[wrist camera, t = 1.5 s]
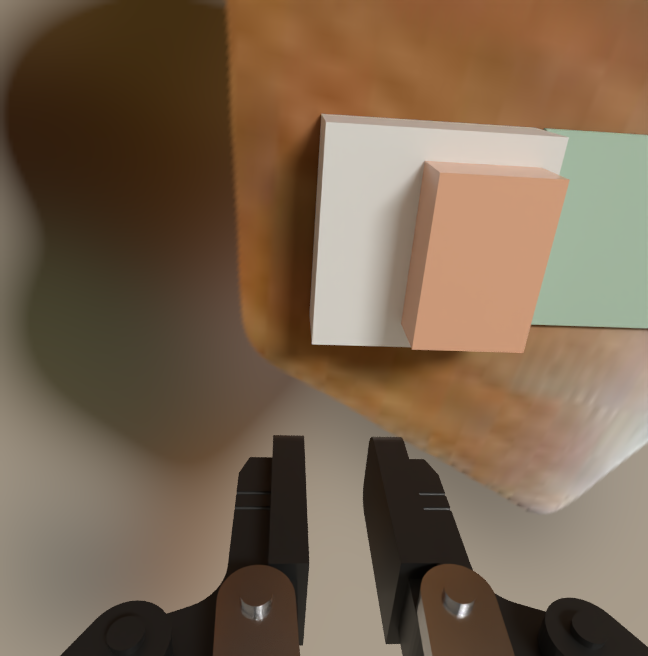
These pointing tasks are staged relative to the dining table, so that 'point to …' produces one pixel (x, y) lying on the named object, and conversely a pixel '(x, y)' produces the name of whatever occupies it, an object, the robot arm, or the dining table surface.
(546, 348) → the dining table surface
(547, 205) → the terracotta tile
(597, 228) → the green mat
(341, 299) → the block
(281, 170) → the dining table surface
